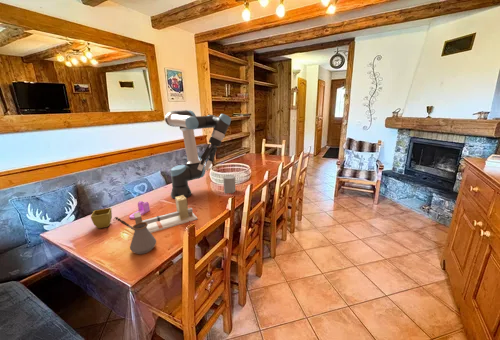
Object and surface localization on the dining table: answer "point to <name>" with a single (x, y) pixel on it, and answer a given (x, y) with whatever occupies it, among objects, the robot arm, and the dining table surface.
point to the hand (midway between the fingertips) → (202, 170)
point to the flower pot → (101, 217)
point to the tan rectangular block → (182, 206)
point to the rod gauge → (164, 220)
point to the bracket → (141, 209)
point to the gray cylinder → (229, 184)
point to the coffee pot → (140, 238)
